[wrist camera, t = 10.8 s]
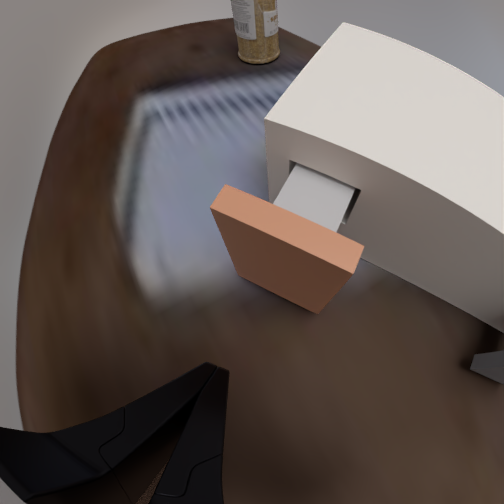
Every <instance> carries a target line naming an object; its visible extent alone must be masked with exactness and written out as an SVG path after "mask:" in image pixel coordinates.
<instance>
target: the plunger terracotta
mask: <svg viewBox="0 0 504 504" xmlns="http://www.w3.org/2000/svg"><path fill="white" fill-rule="evenodd" d="M355 188H356V187H353V186H351V185H349V184H347V183H345V182H342V181H340V180H338V179H335V178H333V177H331V176H328V175H326V174H324V173H321V172H319V171H317V170H314V169H312V168H309V167H307V166H304V165H302V164H299V163H296V165H295V167H294V168H293V170H292V172H291V174H290V175H289V177H288V179H287V181H286V182H285V184H284V186H283V187H282V189H281V191H280V193H279V194H278V196H277V198H276V200H275V201H274V203H273V204H272V203H269V202H267V201H265V200H262V199H260V198H257V197H255V196H253V195H250V194H248V193H246V192H243V191H241V190H238V189H236V188H233V187H231V186H229V185H226V184H225V185H224V187H223V188H222V190H221V191H220V193H219V194H218V196H217V197H216V199H215V200H214V202H213V203H212V205H211V206H210V209H211V211H212V214H213V216H214V219H215V221H216V223H217V226H218V228H219V231H220V233H221V235H222V238H223V240H224V243H225V245H226V247H227V250H228V252H229V254H230V257H231V259H232V261H233V264H234V266H235V269H236V271H237V273H238V275H239V276H241V277H243V278H245V279H247V280H249V281H251V282H253V283H255V284H257V285H259V286H261V287H263V288H265V289H267V290H269V291H271V292H273V293H275V294H277V295H279V296H281V297H283V298H285V299H287V300H289V301H291V302H293V303H295V304H297V305H299V306H301V307H303V308H305V309H307V310H309V311H311V312H313V313H316V314H318V313H319V312H320V311H321V310H322V309H323V308H324V307H325V306H326V305H327V304H328V302H329V301H330V300H331V299H332V298H333V297H334V296H335V295H336V293H337V292H338V291H339V290H340V289H341V288H342V287H343V285H344V284H345V283H346V282H347V281H348V280H349V278H350V277H351V276H352V275H353V274H354V271H355V269H356V266H357V264H358V261H359V259H360V256H361V254H362V251H363V249H364V245H361V244H359V243H357V242H355V241H353V240H351V239H349V238H347V237H345V236H343V235H340V234H338V233H336V232H337V230H338V228H339V226H340V223H341V221H342V219H343V217H344V214H345V212H346V210H347V207H348V205H349V202H350V200H351V198H352V195H353V193H354V190H355Z"/></svg>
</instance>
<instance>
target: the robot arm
mask: <svg viewBox="0 0 504 504" xmlns="http://www.w3.org/2000/svg"><path fill="white" fill-rule="evenodd" d="M228 384H229V370H226V369H224V368H221V367H218V368H217V366H216V365H214V364H212V363H209V362H204V363H203V364H201V365H199V366H197V367H196V368H194V369H192V370H190V371H189V372H187V373H185V374H183V375H182V376H180V377H178V378H176V379H174V380H173V381H171V382H169V383H167V384H165V385H164V386H162V387H160V388H158V389H156V390H154V391H152V392H151V393H149V394H147V395H145V396H143V397H141V398H139V399H137V400H135V401H133V402H131V403H129V404H127V405H126V406H125V407H121V408H119V409H117V410H115V411H113V412H111V413H109V414H107V415H104V416H102V417H100V418H97V419H94V420H91V421H88V422H85V423H82V424H79V425H76V426H73V427H69V428H66V429H63V430H59V431H55V432H50V433H36V432H28V431H21V430H15V429H9V428H3V427H0V504H135V503H136V502H137V501H138V499H139V498H140V497H141V496H142V494H143V493H144V492H145V490H146V489H147V488H148V486H149V485H150V484H151V482H152V481H153V480H154V478H155V477H156V476H157V474H158V473H159V472H160V470H161V469H162V468H163V466H164V465H165V464H166V462H167V461H168V459H169V458H170V459H169V461H168V463H167V465H166V468H165V470H164V472H163V474H162V476H161V478H160V481H159V483H158V485H157V487H156V489H155V491H154V494H153V496H152V498H151V500H150V502H149V504H224V500H223V489H222V463H223V448H224V434H225V422H226V409H227V397H228Z"/></svg>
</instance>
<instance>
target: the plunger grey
mask: <svg viewBox="0 0 504 504" xmlns="http://www.w3.org/2000/svg"><path fill="white" fill-rule="evenodd" d="M470 370H473V371H475V372H477V373H479V374H481V375H484V376H486V377H488V378H490V379H493V380H495V381H497V382H499V383H501V384H504V350H503V351H497V352H490V353H483V354H475V355H474V358H473V361H472V364H471V367H470Z"/></svg>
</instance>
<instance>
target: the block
mask: <svg viewBox="0 0 504 504" xmlns="http://www.w3.org/2000/svg"><path fill="white" fill-rule="evenodd" d="M264 122H265V138H266V155H267V173H268V191H269V203H272V204H273V203H274V201H275V200H276V198H277V196H278V194H279V193H280V191H281V189H282V187H283V186H284V184H285V182H286V181H287V179H288V177H289V175H290V174H291V172H292V170H293V168H294V167H295V165H296V163H299V164H302V165H304V166H307V167H309V168H312V169H314V170H317V171H319V172H321V173H324V174H326V175H328V176H331V177H333V178H335V179H338V180H340V181H342V182H345V183H347V184H349V185H351V186H353V187H356V188H355V190H354V193H353V195H352V198H351V200H350V202H349V205H348V207H347V210H346V212H345V214H344V217H343V219H342V221H341V223H340V226H339V228H338V230H337V232H336V233H338V234H340V235H343V236H345V237H347V238H349V239H351V240H353V241H355V242H357V243H359V244H361V245H364V249H363V251H362V254H361V256H360V258H362V259H364V260H366V261H368V262H370V263H372V264H374V265H376V266H378V267H380V268H382V269H384V270H386V271H388V272H390V273H392V274H394V275H396V276H398V277H400V278H402V279H404V280H406V281H408V282H410V283H412V284H414V285H416V286H418V287H420V288H422V289H424V290H426V291H427V292H429V293H431V294H433V295H435V296H437V297H439V298H441V299H443V300H445V301H447V302H448V303H450V304H452V305H454V306H456V307H458V308H460V309H461V310H463V311H465V312H467V313H469V314H471V315H472V316H474V317H476V318H478V319H480V320H481V321H483V322H485V323H487V324H489V325H490V326H492V327H494V328H496V329H498V330H499V331H501V332H503V333H504V97H502V96H501V95H500V94H499V93H497V92H496V91H494V90H492V89H491V88H489V87H488V86H486V85H485V84H483V83H481V82H480V81H478V80H477V79H475V78H473V77H472V76H470V75H468V74H467V73H465V72H463V71H461V70H459V69H458V68H456V67H454V66H452V65H450V64H448V63H446V62H444V61H442V60H440V59H438V58H436V57H434V56H432V55H430V54H428V53H426V52H424V51H422V50H419V49H417V48H415V47H412V46H410V45H408V44H405V43H403V42H400V41H398V40H395V39H393V38H390V37H388V36H385V35H382V34H379V33H376V32H373V31H371V30H368V29H364V28H361V27H358V26H355V25H351V24H348V23H344V22H343V23H342V24H341V25H340V26H339V27H338V29H337V30H336V31H335V32H334V33H333V34H332V35H331V37H330V38H329V39H328V40H327V41H326V42H325V44H324V45H323V46H322V47H321V48H320V49H319V51H318V52H317V53H316V54H315V55H314V57H313V58H312V59H311V60H310V61H309V63H308V64H307V65H306V66H305V67H304V69H303V70H302V71H301V72H300V74H299V75H298V76H297V77H296V78H295V80H294V81H293V82H292V83H291V85H290V86H289V87H288V89H287V90H286V91H285V92H284V94H283V95H282V96H281V97H280V99H279V100H278V101H277V103H276V104H275V105H274V107H273V108H272V109H271V110H270V112H269V113H268V114H267V116H266V117H265V118H264Z"/></svg>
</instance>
